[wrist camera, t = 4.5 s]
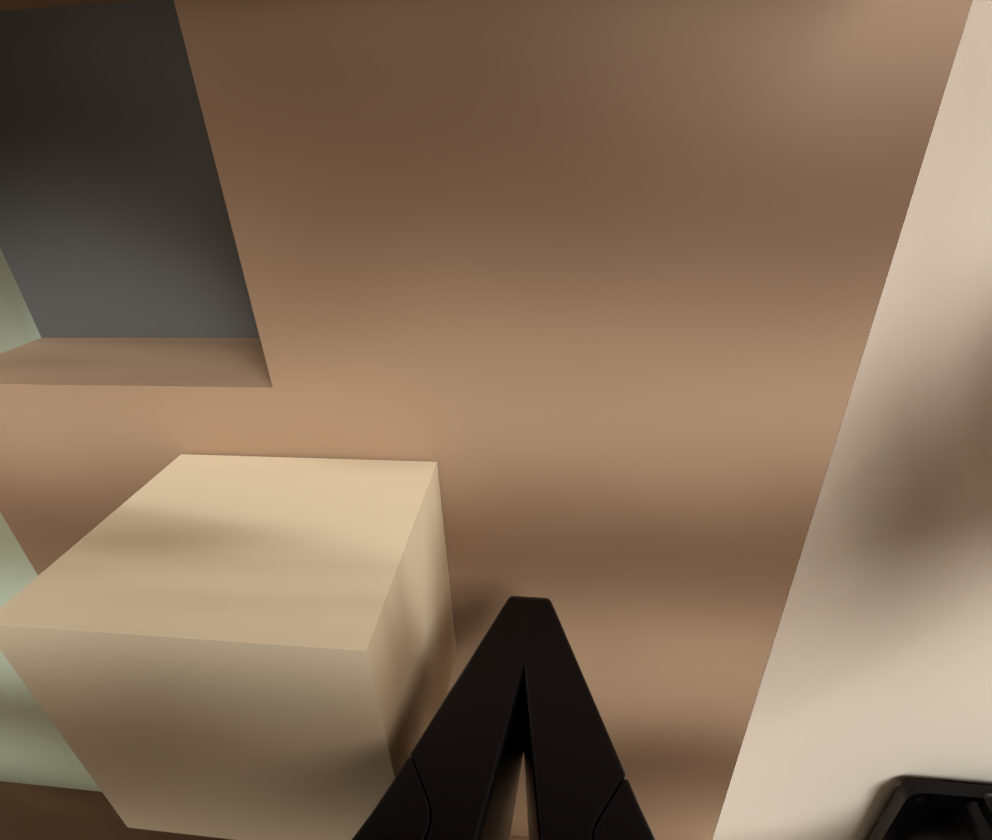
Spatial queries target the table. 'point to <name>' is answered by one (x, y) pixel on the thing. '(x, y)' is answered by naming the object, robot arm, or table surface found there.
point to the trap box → (463, 308)
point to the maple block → (247, 643)
